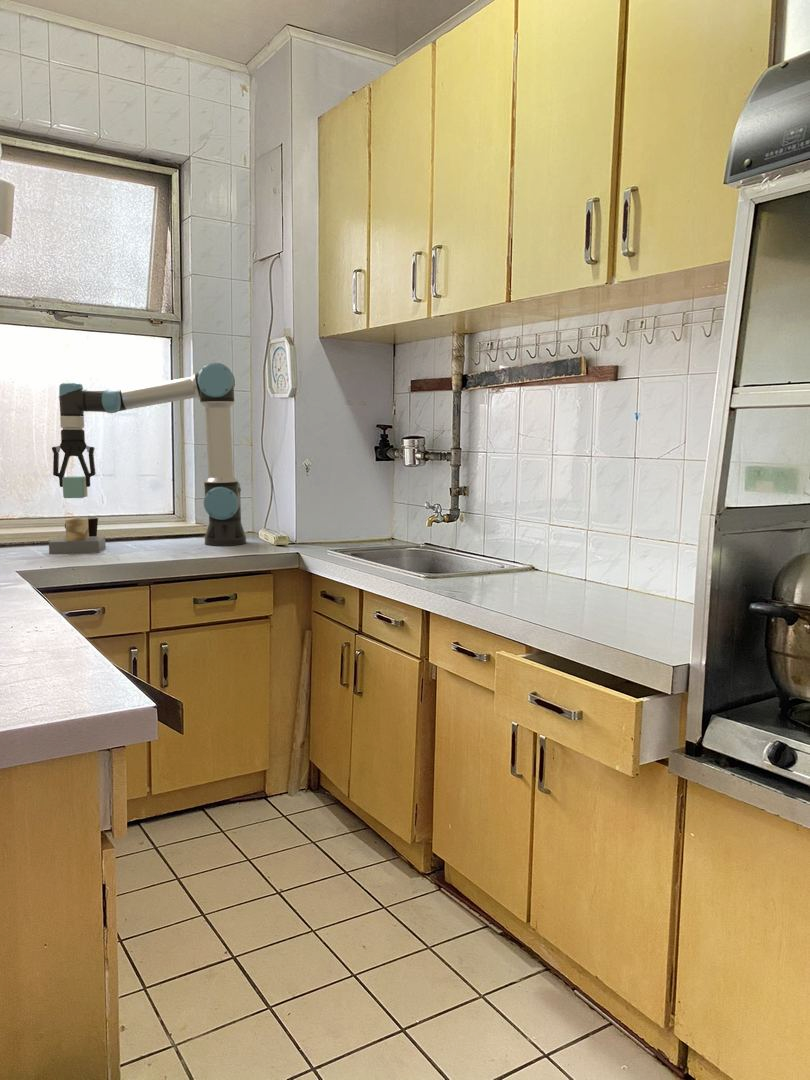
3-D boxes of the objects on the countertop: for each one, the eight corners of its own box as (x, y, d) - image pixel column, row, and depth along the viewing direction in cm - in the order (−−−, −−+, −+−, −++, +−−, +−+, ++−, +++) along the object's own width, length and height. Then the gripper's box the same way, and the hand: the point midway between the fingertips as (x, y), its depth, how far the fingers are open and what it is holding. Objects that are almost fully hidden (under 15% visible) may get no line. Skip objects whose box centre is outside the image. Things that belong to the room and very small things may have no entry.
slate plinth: (105, 547, 295) (105, 536, 295) (99, 552, 282) (98, 541, 281) (58, 548, 292) (57, 537, 292) (49, 553, 279) (48, 542, 278)
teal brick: (86, 496, 289) (86, 476, 288) (82, 498, 281) (81, 477, 280) (68, 496, 288) (67, 476, 287) (63, 498, 280) (62, 477, 279)
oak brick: (89, 537, 291) (88, 517, 290) (84, 540, 283) (83, 520, 282) (70, 537, 290) (70, 518, 289) (66, 540, 282) (65, 520, 281)
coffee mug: (104, 544, 302) (103, 517, 300) (84, 547, 294) (82, 519, 293) (84, 542, 308) (82, 515, 307) (63, 545, 301) (62, 517, 299)
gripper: (103, 429, 287) (106, 495, 290) (45, 428, 283) (48, 495, 286) (100, 429, 280) (102, 497, 283) (40, 428, 276) (43, 497, 279)
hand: (75, 496), depth 285 cm, fingers closed on teal brick, 6 cm apart
